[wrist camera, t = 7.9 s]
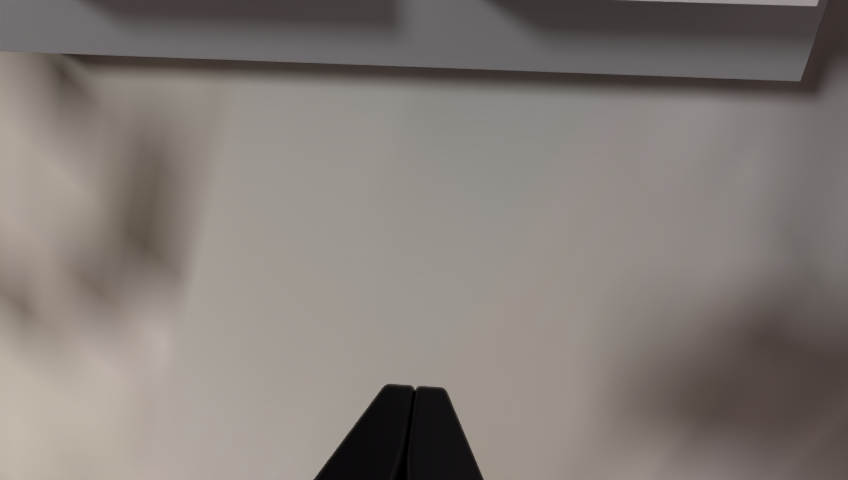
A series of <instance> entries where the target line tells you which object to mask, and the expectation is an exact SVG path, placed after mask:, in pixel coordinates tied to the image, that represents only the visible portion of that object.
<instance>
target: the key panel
mask: <svg viewBox="0 0 848 480" xmlns="http://www.w3.org/2000/svg"><path fill="white" fill-rule="evenodd" d="M828 1H829V0H0V51H9V52H35V53H62V54H88V55H115V56H141V57H168V58H194V59H221V60H247V61H274V62H300V63H327V64H353V65H380V66H406V67H433V68H459V69H485V70H512V71H538V72H565V73H591V74H618V75H644V76H671V77H697V78H724V79H750V80H777V81H801V78H802V75H803V72H804V69H805V66H806V64H807V61H808V58H809V55H810V52H811V49H812V46H813V43H814V41H815V38H816V35H817V32H818V29H819V26H820V23H821V21H822V18H823V15H824V12H825V9H826V6H827V3H828Z"/></svg>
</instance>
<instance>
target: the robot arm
mask: <svg viewBox="0 0 848 480" xmlns="http://www.w3.org/2000/svg"><path fill="white" fill-rule="evenodd" d="M314 480H484V479H483V477H482V475H481V472H480V470H479V467H478V465H477V463H476V460H475V458H474V455H473V453H472V451H471V448H470V446H469V443H468V441H467V439H466V436H465V434H464V431H463V429H462V427H461V424H460V422H459V419H458V417H457V415H456V412H455V410H454V407H453V405H452V403H451V400H450V398H449V395H448V393H447V391H446V390H445V389H444V388H441V387H427V386H419V387H417V388H416V390H415V389H414V387H412V386H410V385H397V384H387V385H385V386H384V387H383V388H382V389H381V391H380V392H379V393H378V395H377V396H376V397H375V399H374V400H373V401H372V403H371V404H370V405H369V407H368V408H367V409H366V411H365V412H364V413H363V415H362V416H361V417H360V419H359V420H358V421H357V423H356V424H355V425H354V427H353V428H352V429H351V431H350V432H349V433H348V435H347V436H346V437H345V439H344V440H343V441H342V443H341V444H340V445H339V447H338V448H337V449H336V451H335V452H334V453H333V455H332V456H331V457H330V459H329V460H328V461H327V463H326V464H325V465H324V467H323V468H322V469H321V471H320V472H319V473H318V475H317V476H316V477H315V479H314Z"/></svg>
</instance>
